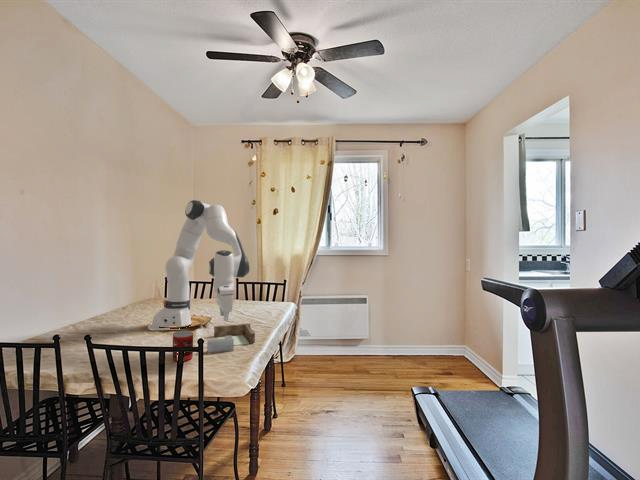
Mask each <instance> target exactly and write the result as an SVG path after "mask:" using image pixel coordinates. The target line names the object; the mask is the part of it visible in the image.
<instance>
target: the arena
mask: <svg viewBox="0 0 640 480" xmlns="http://www.w3.org/2000/svg"><path fill="white" fill-rule="evenodd" d="M213 332H214V333H213V336H214V338H219V337H225V336H229V335H231V336H240V335H244V337H245V338H246V340H247V341H248V342H249V344H251V345H254V344H253V343H256V342H255V339H256V333H255V332H254V331H253V329H252V328H251V323H241V324H229V325H228V324H226V325H225V324H224V325H217V326H216V325H215V326H214V328H213Z"/></svg>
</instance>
